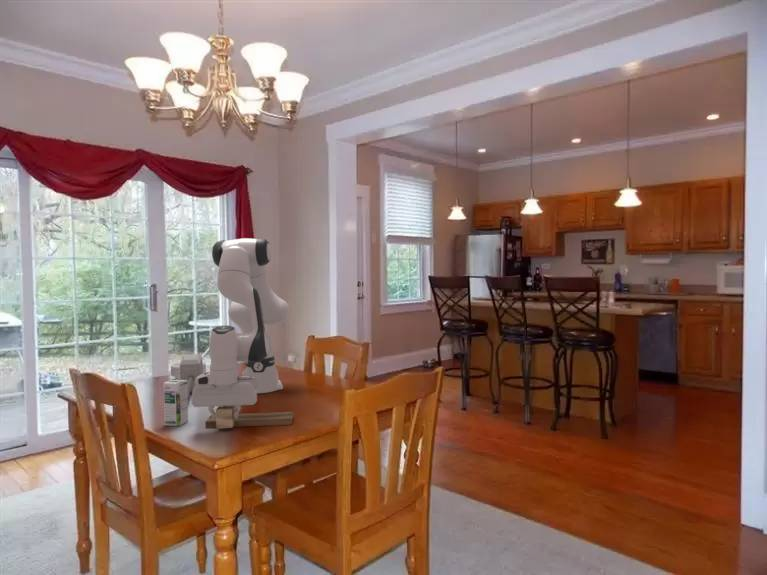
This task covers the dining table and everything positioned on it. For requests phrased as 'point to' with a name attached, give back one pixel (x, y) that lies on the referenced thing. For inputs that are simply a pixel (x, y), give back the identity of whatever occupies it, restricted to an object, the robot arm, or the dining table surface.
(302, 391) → the dining table surface
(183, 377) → the hammer
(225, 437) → the dining table surface
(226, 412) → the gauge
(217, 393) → the robot arm
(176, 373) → the gray cross block
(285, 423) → the plank
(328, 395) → the dining table surface
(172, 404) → the syrup box
